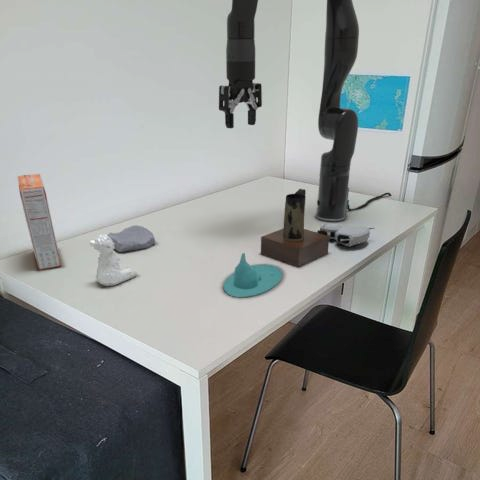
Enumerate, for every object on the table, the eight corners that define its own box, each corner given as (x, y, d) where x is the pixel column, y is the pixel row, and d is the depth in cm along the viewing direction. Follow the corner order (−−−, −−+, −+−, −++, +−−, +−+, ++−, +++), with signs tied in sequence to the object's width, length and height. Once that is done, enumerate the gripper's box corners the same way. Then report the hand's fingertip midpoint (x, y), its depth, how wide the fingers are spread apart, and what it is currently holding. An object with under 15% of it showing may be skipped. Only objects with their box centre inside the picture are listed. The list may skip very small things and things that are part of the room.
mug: (298, 242, 125) (301, 196, 119) (279, 239, 127) (281, 193, 121) (310, 233, 131) (313, 189, 125) (291, 230, 133) (293, 186, 127)
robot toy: (308, 243, 140) (354, 252, 131) (308, 228, 138) (355, 236, 129) (331, 232, 148) (376, 240, 139) (331, 218, 146) (377, 225, 137)
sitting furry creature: (138, 275, 120) (132, 228, 114) (123, 290, 112) (116, 241, 106) (103, 271, 121) (95, 226, 115) (86, 286, 114) (77, 238, 108)
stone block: (159, 249, 139) (139, 234, 144) (159, 235, 136) (138, 220, 141) (123, 262, 132) (104, 246, 137) (123, 247, 129) (102, 231, 134)
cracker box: (34, 252, 133) (16, 175, 123) (57, 248, 135) (41, 172, 125) (37, 271, 122) (17, 188, 112) (62, 267, 124) (45, 185, 114)
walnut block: (290, 241, 140) (291, 225, 137) (327, 253, 132) (329, 236, 129) (260, 254, 131) (260, 236, 129) (298, 267, 124) (299, 249, 121)
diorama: (293, 270, 122) (294, 237, 118) (256, 302, 107) (257, 266, 102) (250, 261, 127) (250, 230, 123) (210, 291, 112) (209, 256, 108)
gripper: (231, 60, 118) (232, 130, 126) (269, 59, 126) (268, 125, 135) (210, 59, 122) (212, 128, 130) (249, 58, 131) (248, 122, 139)
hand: (240, 126), depth 132 cm, fingers open, 8 cm apart
